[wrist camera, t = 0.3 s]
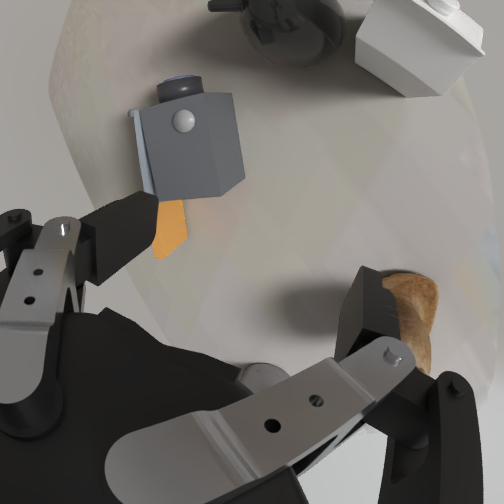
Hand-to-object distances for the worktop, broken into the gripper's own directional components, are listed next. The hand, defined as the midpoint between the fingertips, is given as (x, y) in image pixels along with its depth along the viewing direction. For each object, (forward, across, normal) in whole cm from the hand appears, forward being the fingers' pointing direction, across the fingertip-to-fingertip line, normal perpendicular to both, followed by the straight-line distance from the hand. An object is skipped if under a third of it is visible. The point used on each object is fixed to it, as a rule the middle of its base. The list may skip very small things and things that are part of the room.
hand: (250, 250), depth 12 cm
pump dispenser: (+28, -6, +14) cm, 31 cm away
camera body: (+28, -14, -1) cm, 31 cm away
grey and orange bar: (+27, -18, -8) cm, 34 cm away
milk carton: (+28, +5, +14) cm, 31 cm away
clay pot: (+28, +17, -18) cm, 38 cm away
